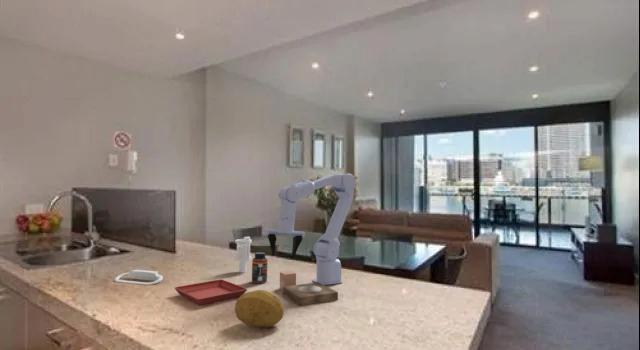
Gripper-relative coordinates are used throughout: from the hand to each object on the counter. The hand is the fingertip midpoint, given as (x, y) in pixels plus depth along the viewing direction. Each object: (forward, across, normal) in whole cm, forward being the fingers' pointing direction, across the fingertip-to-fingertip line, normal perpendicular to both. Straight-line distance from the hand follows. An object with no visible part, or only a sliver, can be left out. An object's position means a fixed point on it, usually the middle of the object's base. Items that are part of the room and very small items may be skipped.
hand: (283, 255), depth 134 cm
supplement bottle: (+13, -5, +13) cm, 19 cm away
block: (+12, +3, +1) cm, 12 cm away
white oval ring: (+17, -50, +27) cm, 59 cm away
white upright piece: (+12, -10, +32) cm, 36 cm away
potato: (+15, -12, -32) cm, 37 cm away
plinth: (+12, +8, -11) cm, 18 cm away
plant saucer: (+15, -24, -1) cm, 28 cm away
